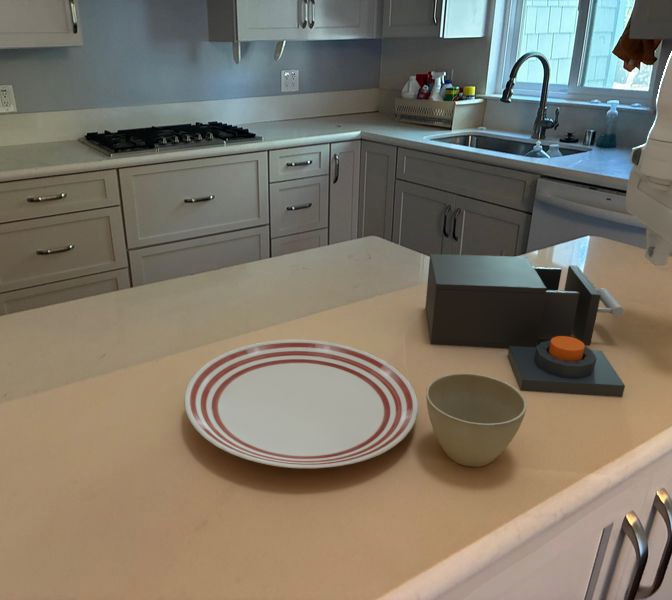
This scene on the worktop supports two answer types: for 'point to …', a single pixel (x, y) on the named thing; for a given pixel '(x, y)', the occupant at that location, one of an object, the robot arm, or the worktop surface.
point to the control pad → (564, 372)
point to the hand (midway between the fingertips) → (654, 261)
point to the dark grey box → (483, 301)
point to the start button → (566, 348)
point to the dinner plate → (301, 404)
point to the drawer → (572, 304)
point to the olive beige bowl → (474, 416)
